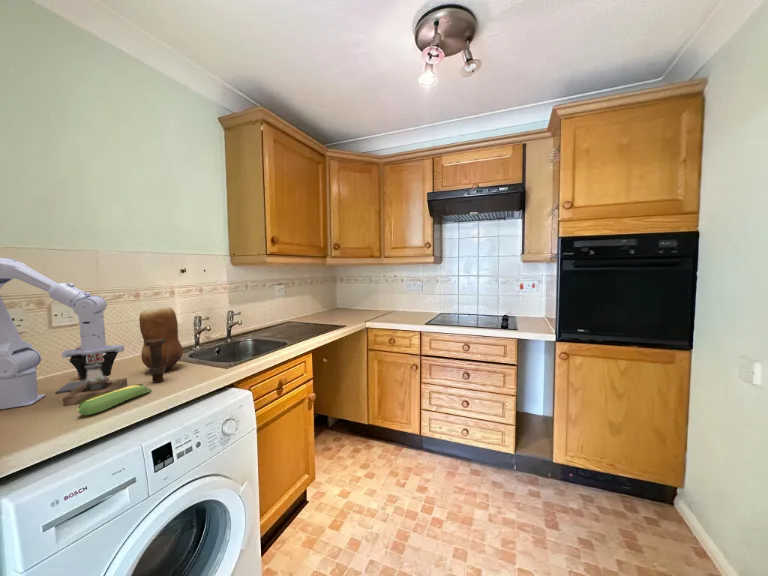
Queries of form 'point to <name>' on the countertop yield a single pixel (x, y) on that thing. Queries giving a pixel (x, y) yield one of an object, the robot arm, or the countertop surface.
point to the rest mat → (71, 386)
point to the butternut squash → (161, 335)
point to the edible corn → (110, 399)
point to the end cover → (95, 375)
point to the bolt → (156, 359)
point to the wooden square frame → (92, 391)
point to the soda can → (91, 359)
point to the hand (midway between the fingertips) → (96, 376)
